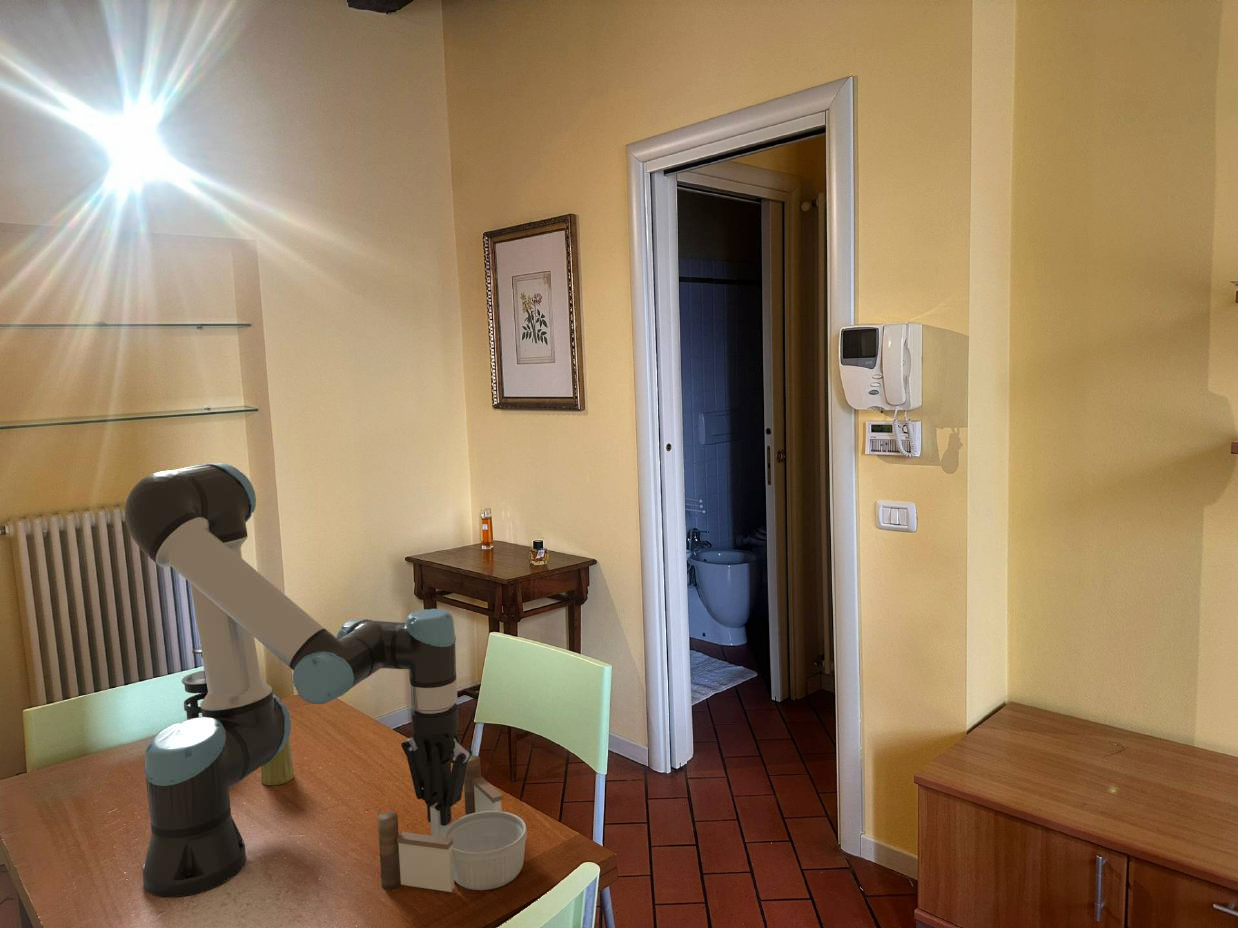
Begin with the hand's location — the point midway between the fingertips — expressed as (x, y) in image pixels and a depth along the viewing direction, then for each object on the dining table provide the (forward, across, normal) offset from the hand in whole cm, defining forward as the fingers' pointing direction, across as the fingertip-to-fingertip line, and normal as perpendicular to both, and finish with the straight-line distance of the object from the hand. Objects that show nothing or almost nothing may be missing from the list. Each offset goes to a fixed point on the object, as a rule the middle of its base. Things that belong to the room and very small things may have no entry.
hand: (440, 840), depth 149 cm
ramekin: (+2, -11, +2) cm, 11 cm away
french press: (+2, +68, -11) cm, 69 cm away
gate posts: (+2, +1, 0) cm, 2 cm away
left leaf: (+1, -5, +10) cm, 11 cm away
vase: (+2, +46, -8) cm, 47 cm away
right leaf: (+1, -4, -8) cm, 9 cm away
